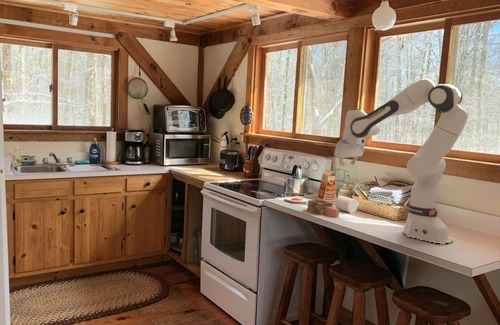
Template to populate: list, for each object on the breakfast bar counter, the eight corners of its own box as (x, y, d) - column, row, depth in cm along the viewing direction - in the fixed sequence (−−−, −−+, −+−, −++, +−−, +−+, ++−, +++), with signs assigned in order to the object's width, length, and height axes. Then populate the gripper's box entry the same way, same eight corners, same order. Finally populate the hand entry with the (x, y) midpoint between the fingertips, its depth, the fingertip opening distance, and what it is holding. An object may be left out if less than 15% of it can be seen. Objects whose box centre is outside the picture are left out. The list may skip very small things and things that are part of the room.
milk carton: (316, 198, 285) (319, 167, 282) (328, 197, 288) (331, 167, 286) (324, 201, 276) (327, 169, 274) (336, 201, 280) (339, 169, 278)
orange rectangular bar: (338, 217, 238) (339, 209, 237) (335, 218, 237) (336, 209, 236) (317, 211, 249) (317, 203, 249) (314, 211, 248) (315, 204, 247)
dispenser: (331, 213, 246) (332, 202, 245) (320, 215, 240) (321, 204, 239) (318, 209, 253) (318, 199, 252) (307, 211, 247) (308, 200, 247)
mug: (347, 213, 248) (348, 199, 247) (334, 209, 256) (335, 196, 255) (361, 212, 255) (363, 198, 254) (348, 208, 263) (349, 194, 262)
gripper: (343, 140, 225) (339, 167, 227) (367, 140, 238) (363, 165, 240) (333, 138, 229) (329, 164, 232) (358, 138, 242) (354, 162, 245)
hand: (347, 165), depth 236 cm, fingers open, 8 cm apart
